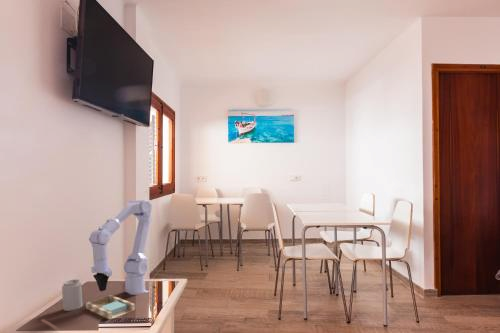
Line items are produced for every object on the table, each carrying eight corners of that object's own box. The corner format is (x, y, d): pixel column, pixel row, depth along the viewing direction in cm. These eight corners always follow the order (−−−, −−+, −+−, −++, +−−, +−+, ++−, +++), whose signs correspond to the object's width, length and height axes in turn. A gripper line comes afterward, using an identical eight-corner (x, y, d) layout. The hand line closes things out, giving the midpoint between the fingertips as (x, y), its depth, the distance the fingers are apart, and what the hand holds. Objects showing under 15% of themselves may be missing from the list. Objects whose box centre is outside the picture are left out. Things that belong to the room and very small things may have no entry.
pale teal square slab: (100, 311, 146) (100, 306, 146) (116, 305, 151) (116, 301, 151) (110, 315, 140) (110, 310, 140) (126, 309, 146) (126, 304, 146)
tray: (86, 310, 150) (85, 302, 150) (111, 301, 158) (110, 294, 158) (109, 321, 137) (109, 313, 137) (135, 311, 145) (134, 303, 145)
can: (86, 306, 155) (85, 278, 155) (73, 313, 148) (71, 284, 148) (73, 305, 157) (71, 278, 158) (59, 312, 150) (57, 283, 150)
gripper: (83, 258, 153) (85, 290, 153) (99, 262, 143) (101, 296, 143) (99, 255, 158) (101, 285, 158) (116, 258, 149) (118, 291, 149)
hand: (102, 290), depth 151 cm, fingers closed
